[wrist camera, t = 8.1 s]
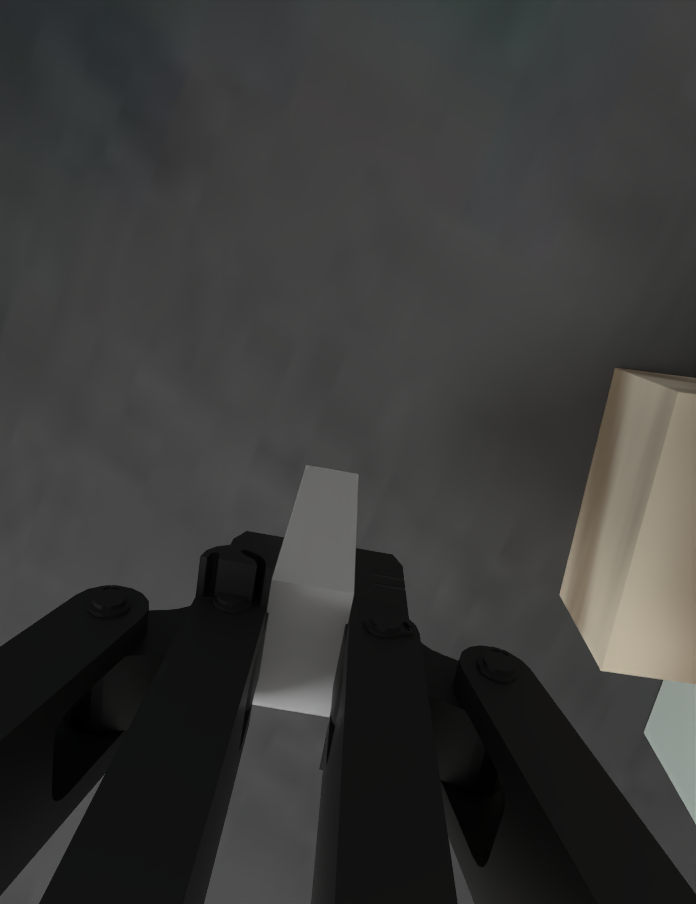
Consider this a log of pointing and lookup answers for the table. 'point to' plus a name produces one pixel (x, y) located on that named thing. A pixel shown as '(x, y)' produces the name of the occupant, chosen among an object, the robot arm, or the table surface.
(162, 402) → the table surface
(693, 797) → the batten
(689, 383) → the block
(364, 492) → the table surface
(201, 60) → the table surface
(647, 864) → the robot arm
